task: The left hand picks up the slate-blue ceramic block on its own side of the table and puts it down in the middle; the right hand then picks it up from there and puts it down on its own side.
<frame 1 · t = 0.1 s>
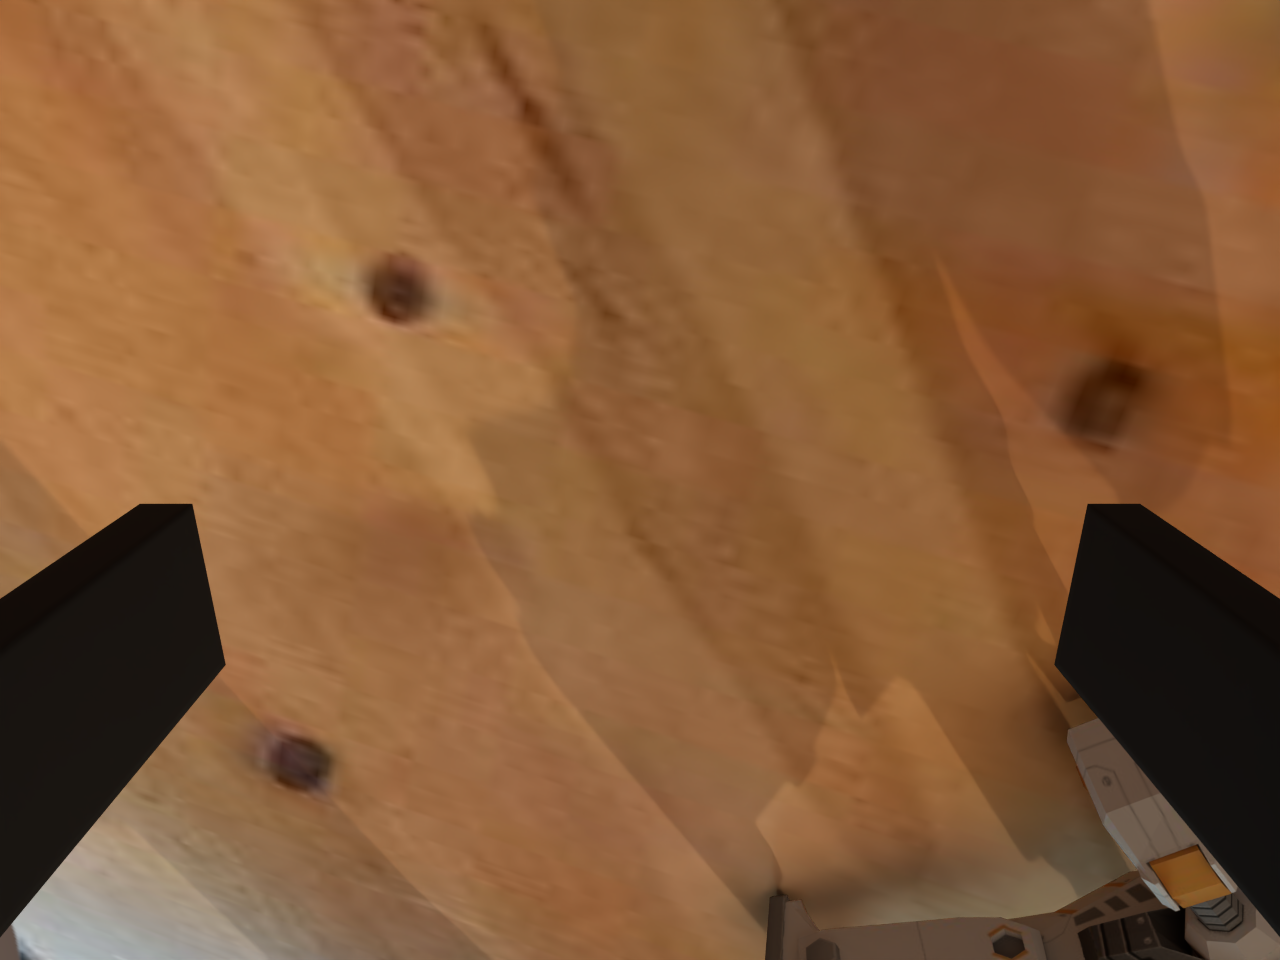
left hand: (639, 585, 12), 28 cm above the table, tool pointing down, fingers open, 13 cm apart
robot: (1076, 863, 51), on the table
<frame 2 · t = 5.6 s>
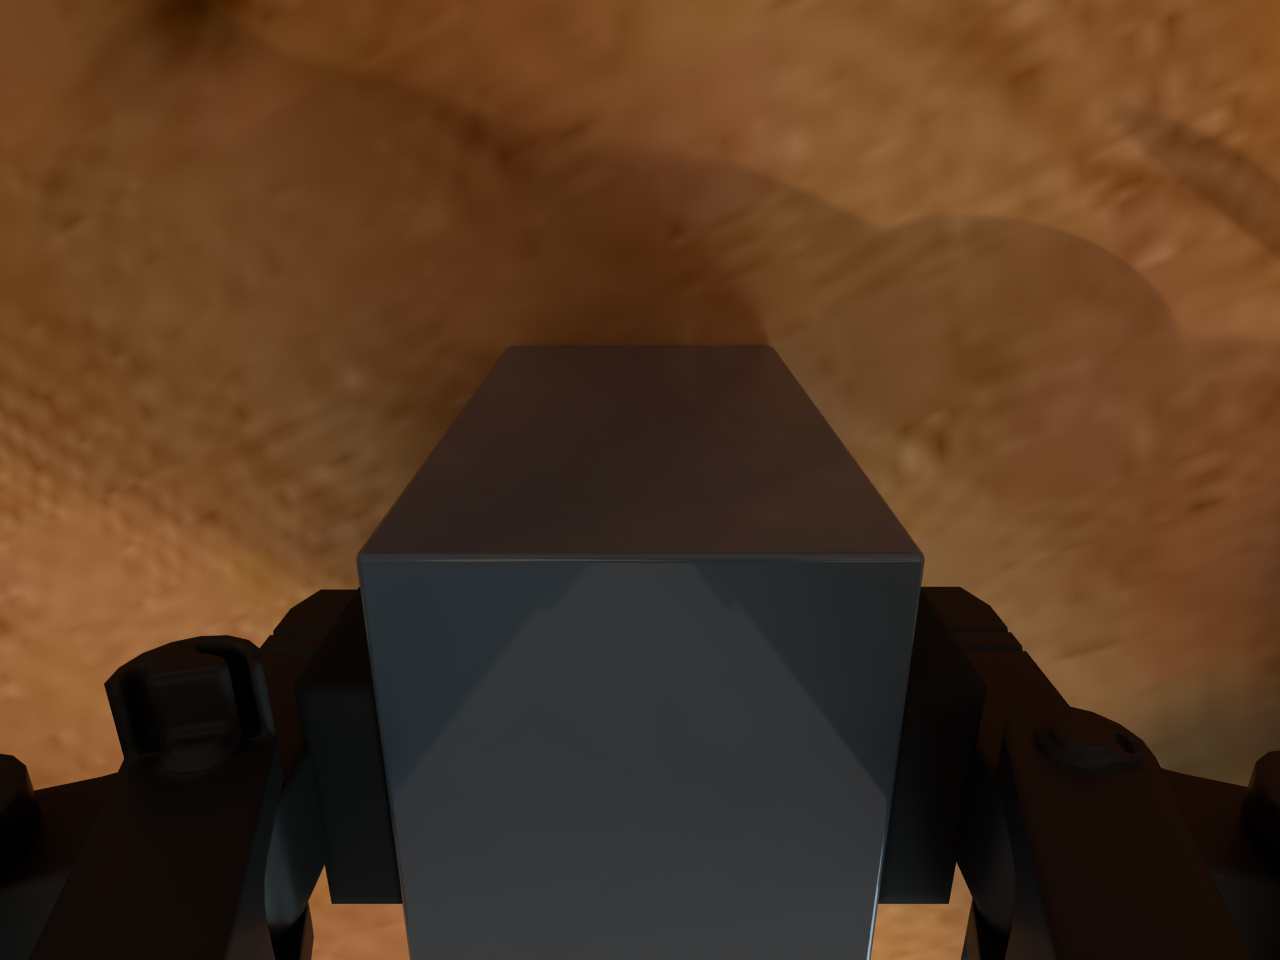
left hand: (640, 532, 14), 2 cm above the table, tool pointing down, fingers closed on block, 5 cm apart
block: (640, 482, 16), on the table, touching left hand
when the left hand's fingers open (4 cm above the table, at t = 15.3 s): block drops 2 cm, on the table.
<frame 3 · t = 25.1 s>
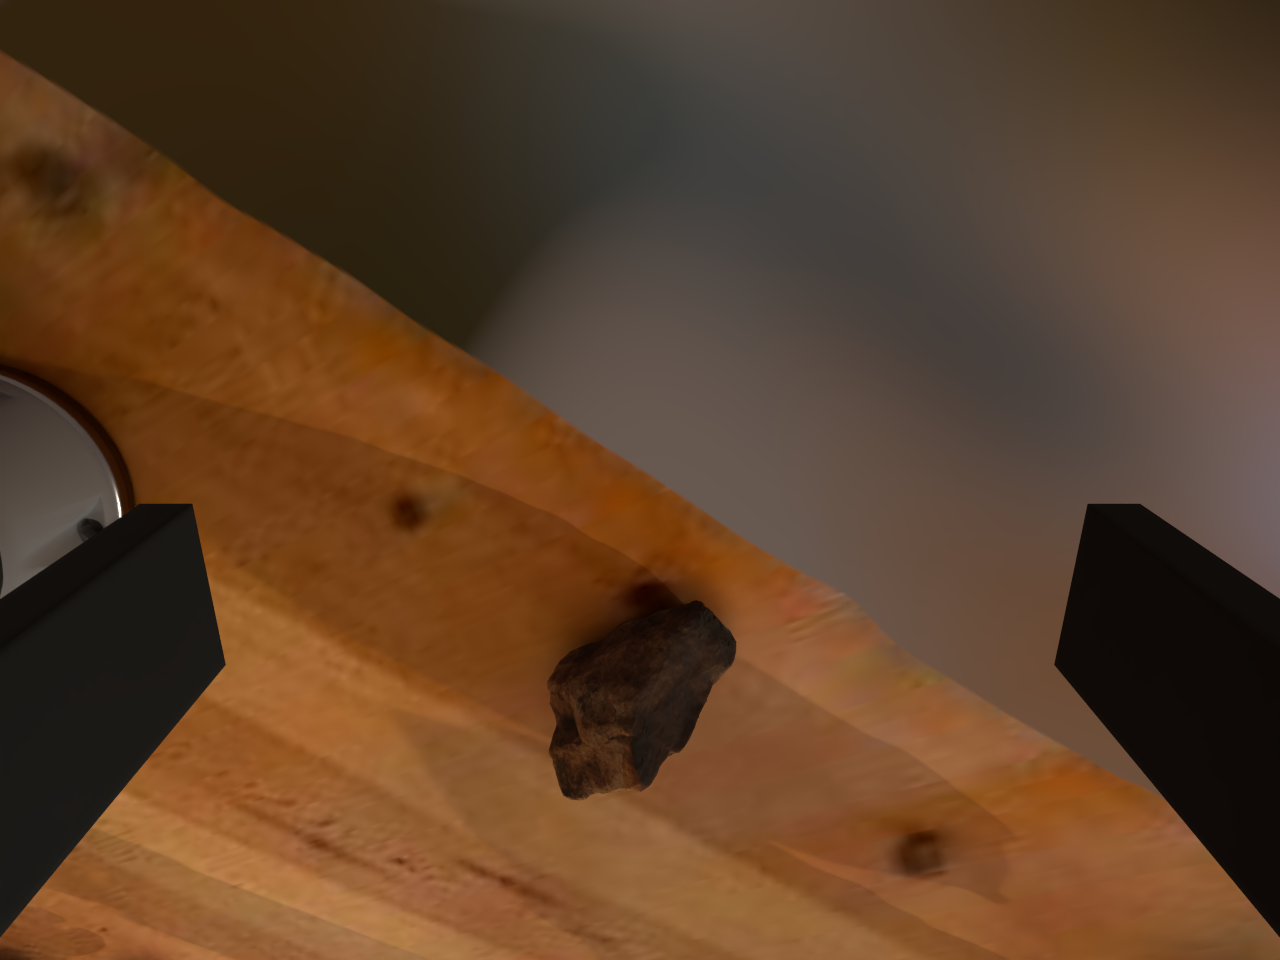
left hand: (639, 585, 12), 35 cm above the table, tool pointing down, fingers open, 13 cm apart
decorative rock: (639, 649, 54), on the table
when the right hand's fingers open (4 cm above the table, at t = 31.4 s): block drops 2 cm, on the table.
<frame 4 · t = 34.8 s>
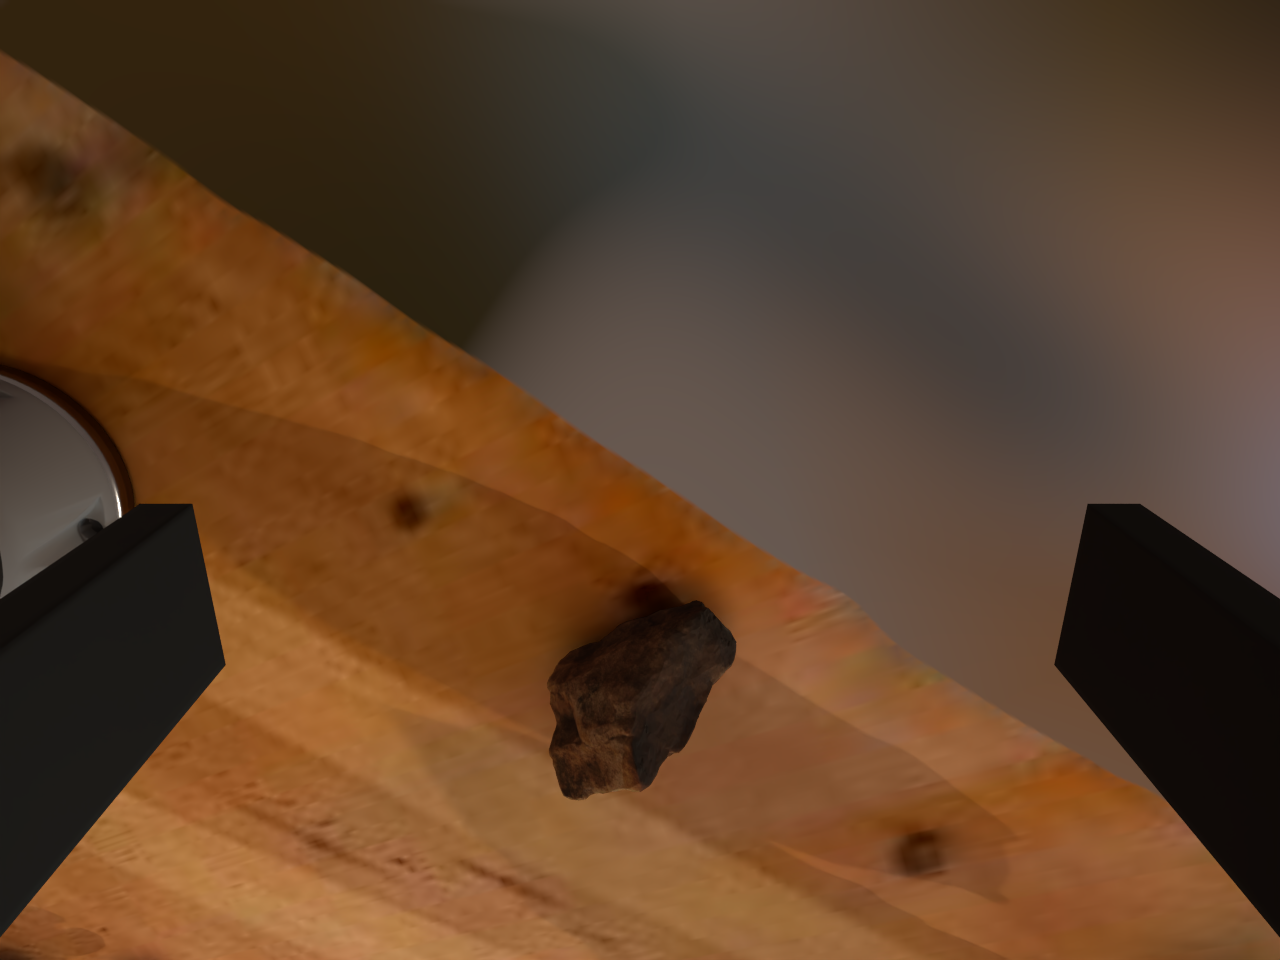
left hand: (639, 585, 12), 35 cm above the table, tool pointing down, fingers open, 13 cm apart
decorative rock: (639, 649, 54), on the table
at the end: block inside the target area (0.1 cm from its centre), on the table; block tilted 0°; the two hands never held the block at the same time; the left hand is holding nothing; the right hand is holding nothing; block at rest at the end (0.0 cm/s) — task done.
